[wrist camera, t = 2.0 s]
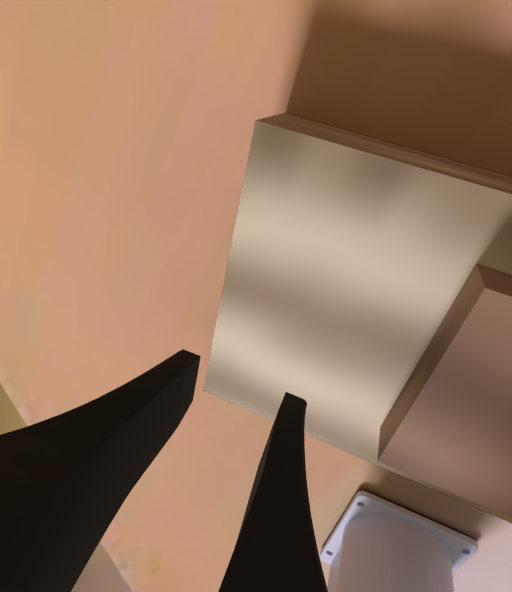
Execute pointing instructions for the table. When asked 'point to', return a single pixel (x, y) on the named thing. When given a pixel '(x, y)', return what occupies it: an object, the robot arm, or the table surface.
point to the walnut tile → (461, 399)
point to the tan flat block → (347, 274)
